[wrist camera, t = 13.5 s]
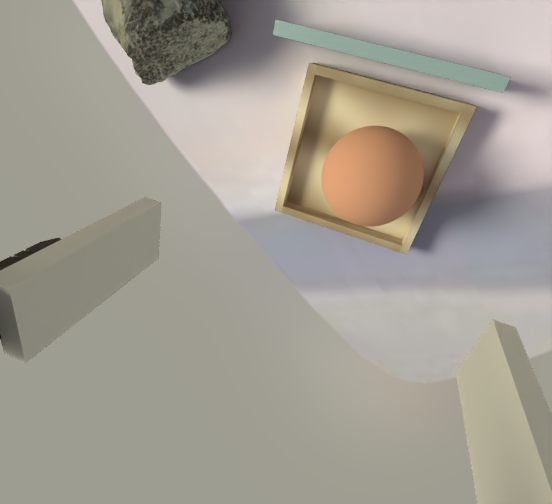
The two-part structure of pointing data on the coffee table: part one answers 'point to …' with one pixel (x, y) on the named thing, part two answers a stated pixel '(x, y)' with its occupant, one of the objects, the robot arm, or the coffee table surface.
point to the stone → (167, 33)
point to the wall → (392, 56)
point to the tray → (355, 114)
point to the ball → (372, 176)
